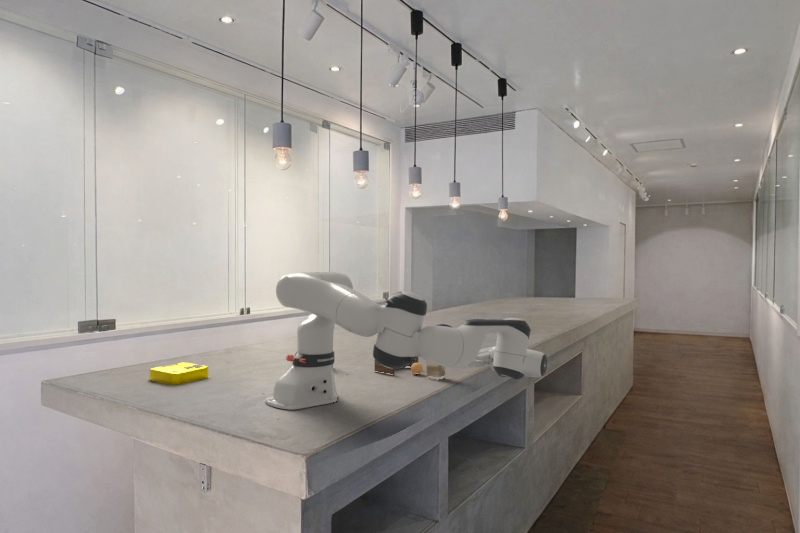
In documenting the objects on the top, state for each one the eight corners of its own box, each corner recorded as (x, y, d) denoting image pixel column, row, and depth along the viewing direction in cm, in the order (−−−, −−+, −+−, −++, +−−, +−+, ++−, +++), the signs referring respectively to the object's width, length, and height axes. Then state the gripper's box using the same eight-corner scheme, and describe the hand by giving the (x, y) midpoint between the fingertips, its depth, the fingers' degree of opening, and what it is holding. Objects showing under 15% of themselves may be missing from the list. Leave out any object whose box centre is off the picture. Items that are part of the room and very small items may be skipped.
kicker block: (437, 380, 192) (438, 352, 192) (426, 378, 195) (427, 351, 195) (445, 378, 195) (445, 351, 195) (434, 376, 199) (434, 349, 198)
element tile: (183, 373, 201) (183, 360, 201) (210, 378, 194) (210, 365, 194) (147, 381, 189) (147, 367, 188) (174, 386, 181) (174, 372, 181)
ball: (417, 376, 198) (417, 364, 198) (408, 374, 201) (408, 362, 201) (425, 374, 201) (425, 362, 201) (415, 372, 204) (415, 361, 204)
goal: (392, 375, 199) (392, 359, 199) (374, 372, 205) (374, 356, 205) (418, 369, 211) (418, 354, 210) (400, 366, 216) (400, 351, 216)
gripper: (483, 372, 171) (448, 366, 180) (515, 363, 186) (481, 357, 195) (483, 353, 170) (448, 347, 179) (515, 345, 186) (481, 340, 195)
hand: (465, 352), depth 187 cm, fingers open, 8 cm apart
